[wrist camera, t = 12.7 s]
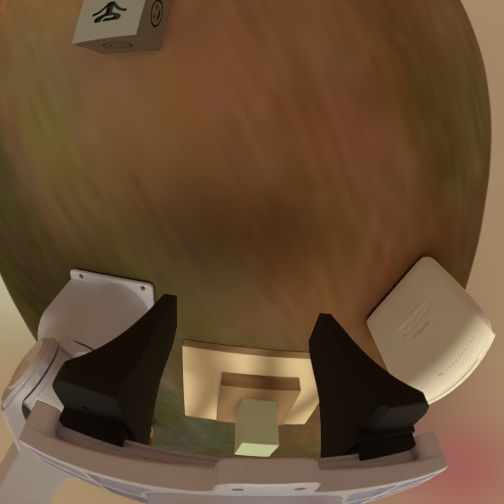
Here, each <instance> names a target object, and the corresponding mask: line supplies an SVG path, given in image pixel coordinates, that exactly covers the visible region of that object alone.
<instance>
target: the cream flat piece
mask: <svg viewBox="0 0 504 504" xmlns="http://www.w3.org/2000/svg"><path fill="white" fill-rule="evenodd" d="M183 380H184V401H185V415H187V416H193V417H200V418H207V419H215V420H216V421H223V422H233V423H236V412H237V410H238V408H239V406H240V403H241V401H242V399H243V398H246V399H254V400H263V401H273V402H276V406H277V420H278V425H283V424H305V422H306V421H307V420H308V418H309V417H310V415H311V414H312V412H313V411H314V409H315V408H316V406H317V405H318V403H319V397H318V391H317V387H316V382H315V378H314V374H313V369H312V365H311V360H310V353H307V352H290V351H276V350H264V349H253V348H244V347H235V346H227V345H219V344H211V343H204V342H197V341H191V340H185V339H184V342H183Z"/></svg>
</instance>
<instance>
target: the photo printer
mask: <svg viewBox="0 0 504 504" xmlns="http://www.w3.org/2000/svg"><path fill="white" fill-rule="evenodd" d="M367 325H368V328H369V330H370V332H371V334H372V336H373V339H374V341H375V343H376V345H377V347H378V349H379V352H380V354H381V356H382V358H383V360H384V363H385V365H386V367H387V369H388V372H389V373H390V374H391V375H393V376H394V377H396V378H397V379H399V380H400V381H402V382H404V383H406V384H407V385H409V386H411V387H413V388H415V389H418V390H420V391H422V392H423V393H424V395H425V398H426V400H427V402H428V404H431V403H432V402H435V401H437V400H439V399H440V398H442V397H444V396H445V395H447V394H448V393H449V392H451V391H452V390H453V389H455V388H456V387H457V386H458V385H460V384H461V383H462V382H463V381H464V380H465V379H466V378H467V377H468V376H469V375H470V374H471V373H472V372H473V371H474V369H475V368H476V367H477V366H478V364H479V363H480V362H481V360H482V359H483V357H484V356H485V354H486V353H487V351H488V349H489V348H490V346H491V344H492V342H493V340H494V337H495V333H494V332H493V331H492V329H491V324H490V321H489V319H488V317H487V316H486V314H485V312H484V311H483V310H482V309H481V307H480V306H479V305H478V304H477V303H476V302H475V301H474V299H473V298H472V297H471V296H470V295H469V294H468V293H467V292H466V291H465V290H464V289H463V287H461V286H460V284H459V283H458V282H457V281H456V280H455V279H454V278H453V277H452V276H451V275H450V274H449V273H448V272H447V271H446V270H445V269H444V268H443V267H442V266H441V265H440V264H439V263H437V262H436V261H435V260H434V259H433V258H431V257H422V258H421V259H420V260H419V261H418V262H417V263H416V264H415V265H414V266H413V267H412V268H411V270H410V271H409V272H408V273H407V274H406V275H405V276H404V278H403V279H402V280H401V281H400V282H399V283H398V284H397V286H396V287H395V288H394V289H393V290H392V291H391V293H390V294H389V295H388V296H387V297H386V298H385V299H384V301H383V302H382V303H381V304H380V305H379V306H378V307H377V308H376V310H375V311H374V312H373V313H372V314H371V315H370V317H369V318H368V320H367Z"/></svg>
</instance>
